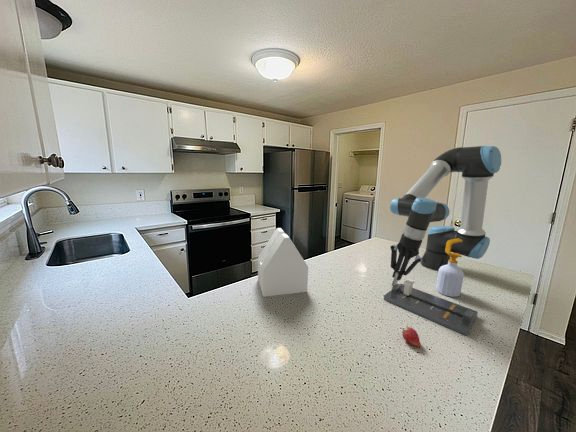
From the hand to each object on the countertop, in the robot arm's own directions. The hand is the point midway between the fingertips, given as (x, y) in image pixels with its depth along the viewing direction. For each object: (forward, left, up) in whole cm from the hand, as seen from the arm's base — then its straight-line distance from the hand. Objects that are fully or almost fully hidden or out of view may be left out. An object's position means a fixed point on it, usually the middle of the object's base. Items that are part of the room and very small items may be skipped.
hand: (393, 284), depth 102 cm
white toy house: (+33, -36, -4) cm, 49 cm away
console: (0, +14, -4) cm, 14 cm away
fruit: (+26, +17, -4) cm, 31 cm away
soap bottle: (-20, +15, -4) cm, 26 cm away
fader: (0, +6, -1) cm, 6 cm away
